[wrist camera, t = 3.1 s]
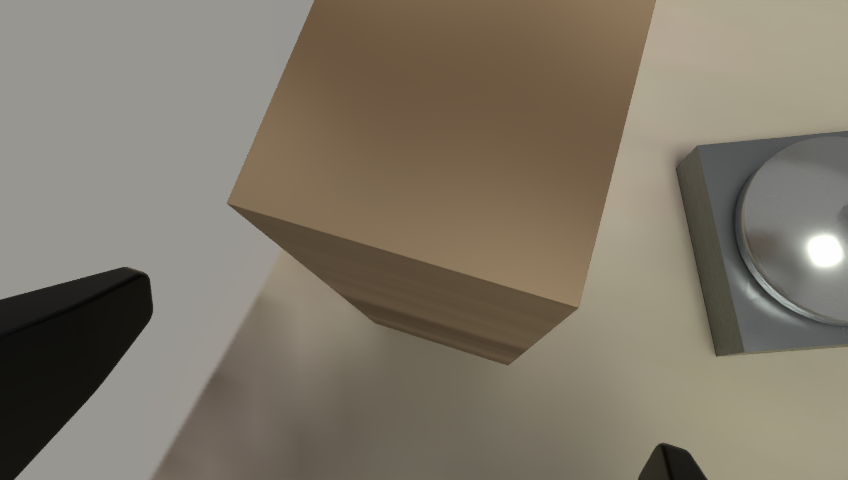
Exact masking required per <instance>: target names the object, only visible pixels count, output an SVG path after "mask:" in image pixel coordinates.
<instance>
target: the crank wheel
mask: <svg viewBox="0 0 848 480" xmlns="http://www.w3.org/2000/svg"><path fill="white" fill-rule="evenodd" d="M735 233H736V239H737V243H738V246H739V250H740V253H741V255H742V257H743V259H744V262H745V264H746V265H747V267H748V269H749V270H750V272H751V273H752V275H753V276H754V278H755V279H756V280H757V281H758V283H759V284H760V285H761V286H762V287H763V288H764V289H765V290H766V291H767V292H768V293H769V294H770V295H771V296H772V297H774V298H775V299H776V300H777V301H779V302H780V303H781V304H783V305H784V306H786V307H788V308H789V309H791V310H792V311H794V312H796V313H798V314H800V315H802V316H805V317H807V318H810V319H813V320H815V321H818V322H822V323H827V324H831V325H839V326H848V137H837V136H832V137H818V138H812V139H808V140H804V141H801V142H797V143H795V144H793V145H791V146H788V147H786V148H785V149H783V150H781V151H780V152H778V153H777V154H775V155H774V156H773V157H772V158H770V159H769V160H768V161H767V162H765V163H764V164H763V165H762V166H760V167H759V168H758V169H757V170H756V171H755V172H754V173H753V174H752V175H751V176H750V178H749V179H748V180H747V182H746V183H745V185H744V187H743V189H742V191H741V193H740V195H739V198H738V201H737V205H736V210H735Z"/></svg>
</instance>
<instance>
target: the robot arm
mask: <svg viewBox="0 0 848 480" xmlns="http://www.w3.org/2000/svg"><path fill="white" fill-rule="evenodd" d="M152 313H153V302H152V294H151V285H150V279H149V277H148V275H147V274H146V273H144V272H141V271H138V270H135V269H132V268H128V267H122V268H118V269H114V270H110V271H107V272H103V273H99V274H95V275H92V276H88V277H84V278H80V279H77V280H73V281H69V282H65V283H62V284H58V285H54V286H51V287H46V288H43V289H39V290H35V291H31V292H28V293H24V294H20V295H16V296H13V297H9V298H5V299H1V300H0V480H14V479H15V478H16V477H17V476H18V475H19V474H20V473H21V471H23V469H24V468H25V467H26V466H27V465H28V464H29V463H30V462H31V461H32V460H33V459H34V457H35V456H36V455H37V454H38V453H39V452H40V451H41V450H42V449H43V448H44V447H45V446H46V445H47V444H48V442H49V441H50V440H51V439H52V438H53V437H54V436H55V435H56V434H57V433H58V432H59V431H60V430H61V428H62V427H63V426H64V425H65V424H66V423H67V422H68V421H69V420H70V419H71V418H72V416H73V415H74V414H75V413H76V412H77V411H78V410H79V409H80V408H81V407H82V406H83V405H84V403H86V401H87V400H88V399H89V398H90V397H91V396H92V394H94V392H95V391H96V390H97V389H98V388H99V386H100V385H101V384H102V383H103V382H104V380H105V379H106V378H107V376H108V375H109V374H110V373H111V371H112V370H113V368H114V367H115V366H116V365H117V363H118V362H119V361H120V359H121V358H122V357H123V355H124V354H125V353H126V351H127V350H128V349H129V348H130V346H131V345H132V344H133V342H134V341H135V340H136V338H137V337H138V336H139V334H140V333H141V332H142V330H143V329H144V328H145V326H146V325H147V324H148V322H149V321H150V319H151V316H152ZM638 480H707V478H706V477H705V475H704V474H703V472H702V471H701V469H700V468H699V466H698V465H697V463H696V462H695V460H694V459H693V457H692V456H691V454H690V453H689V452H688V451H686V450H684V449H682V448H679V447H676V446H673V445H669V444H666V443H660V444H658V445H657V446H656V448H655V449H654V451H653V452H652V454H651V456H650V458H649V459H648V461H647V463H646V465H645V466H644V468H643V470H642V471H641V473H640V475H639V478H638Z"/></svg>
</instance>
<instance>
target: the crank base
mask: <svg viewBox="0 0 848 480" xmlns="http://www.w3.org/2000/svg"><path fill="white" fill-rule="evenodd" d="M832 136H837V137H848V131H844V132H833V133H823V134H813V135H802V136H792V137H782V138H771V139H761V140H751V141H740V142H730V143H720V144H710V145H699V146H697V147H696V148H695V149H694V150H693V151H692V152H691V153H690V154H689V155H688V156H687V158H686V159H685V160H684V161H683V162H682V163H681V164H680V165H679V166H678V167H677V169H676V170H677V174H678V179H679V184H680V188H681V193H682V197H683V202H684V207H685V211H686V216H687V221H688V225H689V230H690V235H691V239H692V244H693V249H694V253H695V258H696V262H697V267H698V272H699V276H700V281H701V286H702V290H703V295H704V300H705V304H706V309H707V313H708V318H709V323H710V327H711V332H712V337H713V341H714V346H715V351H716V355H717V357H718V356H731V355H744V354H757V353H770V352H783V351H796V350H809V349H822V348H835V347H848V326H839V325H831V324H827V323H822V322H818V321H815V320H813V319H810V318H807V317H805V316H802V315H800V314H798V313H796V312H794V311H792V310H791V309H789V308H788V307H786V306H784V305H783V304H781V303H780V302H779V301H777V300H776V299H775V298H774V297H772V296H771V295H770V294H769V293H768V292H767V291H766V290H765V289H764V288H763V287H762V286H761V285H760V284H759V283H758V281H757V280H756V279H755V278H754V276H753V275H752V273H751V272H750V270H749V269H748V267H747V265H746V264H745V262H744V259H743V257H742V255H741V253H740V250H739V246H738V243H737V239H736V233H735V210H736V205H737V201H738V198H739V195H740V193H741V191H742V189H743V187H744V185H745V183H746V182H747V180H748V179H749V178H750V176H751V175H752V174H753V173H754V172H755V171H756V170H757V169H758V168H759V167H760V166H762V165H763V164H764V163H765V162H767V161H768V160H769V159H770V158H772V157H773V156H774V155H775V154H777V153H778V152H780V151H781V150H783V149H785V148H786V147H788V146H791V145H793V144H795V143H797V142H801V141H804V140H808V139H812V138H818V137H832Z"/></svg>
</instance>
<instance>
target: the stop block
mask: <svg viewBox="0 0 848 480" xmlns="http://www.w3.org/2000/svg"><path fill="white" fill-rule="evenodd" d="M655 2H656V0H314V3H313V5H312V7H311V10H310V12H309V14H308V17H307V19H306V21H305V23H304V26H303V28H302V31H301V33H300V35H299V37H298V40H297V42H296V44H295V47H294V49H293V51H292V54H291V56H290V58H289V61H288V63H287V65H286V68H285V70H284V73H283V75H282V77H281V79H280V81H279V84H278V86H277V89H276V91H275V93H274V95H273V98H272V100H271V102H270V105H269V107H268V110H267V111H266V114H265V116H264V118H263V121H262V123H261V125H260V128H259V130H258V132H257V135H256V137H255V139H254V142H253V144H252V146H251V149H250V151H249V153H248V155H247V158H246V160H245V163H244V165H243V167H242V170H241V172H240V174H239V176H238V179H237V181H236V183H235V186H234V188H233V190H232V193H231V195H230V197H229V200H228V202H227V204H228V205H229V206H231V207H232V208H233V209H235V210H236V211H237V212H238V213H239V214H241V215H242V216H243V217H244V218H246V219H247V220H248V221H249V222H251V223H252V224H253V225H254V226H255V227H257V228H258V229H259V230H260V231H262V232H263V233H264V234H265V235H267V236H268V237H269V238H270V239H272V240H273V241H274V242H276V243H277V244H278V245H279V246H280V247H282V248H283V249H284V250H285V251H287V252H288V253H289V254H290V255H291V256H293V257H294V258H295V259H296V260H298V261H299V262H300V263H301V264H303V265H304V266H305V267H306V268H308V269H309V270H310V271H311V272H313V273H314V274H315V275H316V276H318V277H319V278H320V279H321V280H323V281H324V282H325V283H326V284H327V285H329V286H330V287H331V288H332V289H334V290H335V291H336V292H337V293H339V294H340V295H341V296H342V297H344V298H345V299H346V300H347V301H349V302H350V303H351V304H352V305H354V306H355V307H356V308H357V309H359V310H360V311H361V312H362V313H363V314H365V315H366V316H367V317H368V318H370V319H371V320H372V321H373V322H375V323H377V324H380V325H383V326H386V327H389V328H392V329H396V330H399V331H402V332H405V333H408V334H411V335H414V336H417V337H421V338H424V339H427V340H430V341H433V342H436V343H439V344H443V345H446V346H449V347H452V348H455V349H458V350H461V351H464V352H468V353H471V354H474V355H477V356H480V357H483V358H486V359H490V360H493V361H496V362H499V363H502V364H505V365H509V364H511V363H512V362H513V361H514V360H515V359H517V358H518V357H519V356H520V355H521V354H523V353H524V352H525V351H526V350H528V349H529V348H530V347H531V346H532V345H534V344H535V343H536V342H537V341H539V340H540V339H541V338H542V337H543V336H545V335H546V334H547V333H548V332H550V331H551V330H552V329H553V328H554V327H556V326H557V325H558V324H559V323H561V322H562V321H563V320H564V319H565V318H567V317H568V316H569V315H570V314H572V313H573V312H574V311H575V310H576V309H578V308H579V304H580V300H581V296H582V292H583V288H584V284H585V280H586V276H587V272H588V268H589V264H590V260H591V256H592V252H593V248H594V244H595V241H596V237H597V233H598V229H599V225H600V221H601V217H602V213H603V209H604V205H605V201H606V197H607V193H608V189H609V185H610V181H611V177H612V173H613V169H614V165H615V161H616V157H617V153H618V149H619V145H620V141H621V137H622V133H623V129H624V125H625V121H626V118H627V114H628V110H629V106H630V102H631V98H632V94H633V90H634V86H635V82H636V78H637V74H638V70H639V66H640V62H641V58H642V54H643V50H644V46H645V42H646V38H647V34H648V30H649V26H650V22H651V18H652V14H653V10H654V6H655Z"/></svg>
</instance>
